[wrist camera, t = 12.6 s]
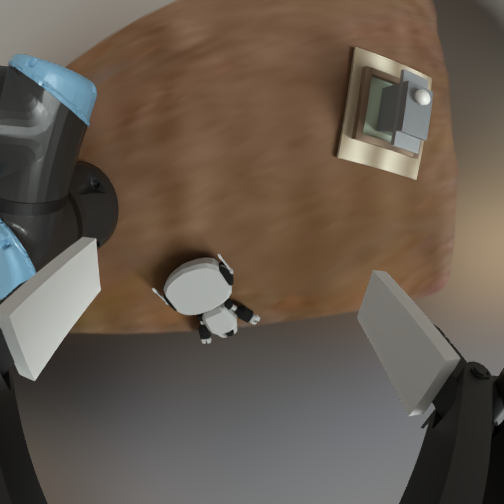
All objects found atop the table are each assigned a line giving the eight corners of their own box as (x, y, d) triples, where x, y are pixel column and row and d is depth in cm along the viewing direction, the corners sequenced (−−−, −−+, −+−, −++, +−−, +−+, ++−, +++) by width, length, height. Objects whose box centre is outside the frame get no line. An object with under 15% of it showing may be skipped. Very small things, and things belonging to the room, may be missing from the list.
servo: (373, 143, 38) (403, 146, 30) (383, 76, 34) (413, 65, 26) (396, 150, 38) (428, 155, 30) (405, 85, 34) (438, 77, 26)
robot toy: (263, 310, 50) (218, 240, 44) (265, 326, 46) (217, 253, 40) (203, 335, 52) (155, 274, 46) (202, 352, 48) (148, 288, 42)
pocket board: (336, 157, 40) (341, 158, 38) (353, 48, 33) (359, 43, 31) (413, 179, 41) (421, 181, 39) (429, 78, 34) (436, 77, 32)
